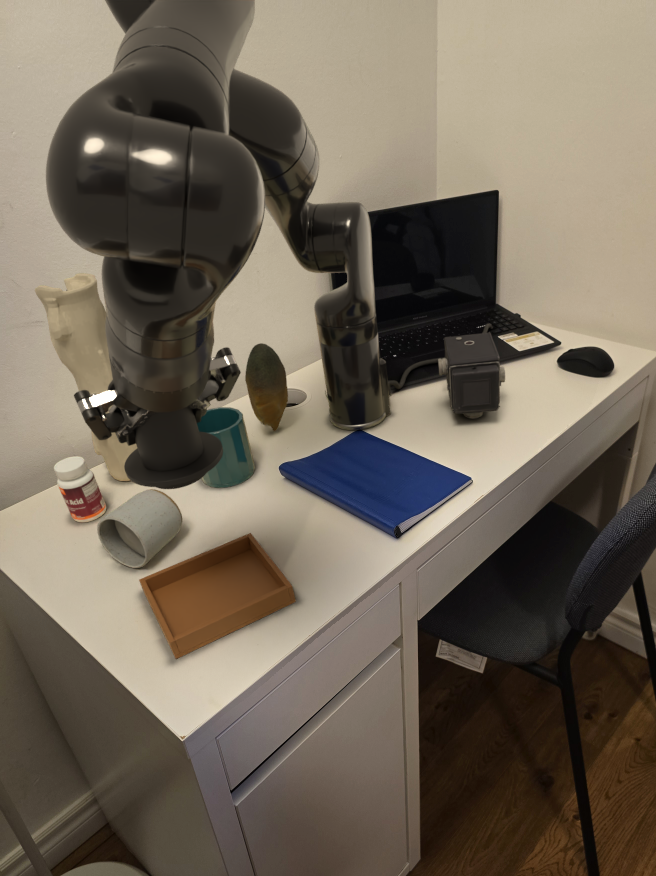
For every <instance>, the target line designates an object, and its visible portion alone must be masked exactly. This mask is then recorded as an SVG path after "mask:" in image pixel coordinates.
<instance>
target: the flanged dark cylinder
mask: <svg viewBox="0 0 656 876" xmlns="http://www.w3.org/2000/svg"><path fill="white" fill-rule="evenodd" d="M134 432H135V442H136V445H137V449H136V450H134V451H133V452H132V453H131V454H130V455H129V456H128V458H127V459H126V462H125V465H124V469H125V472H126V475H127V477H128V478H129V480H130V481H131V482H132V483H133V484H136V485H137V486H142V487H148V488H156V489H160V490H176V489H180V488H184V487H188V486H190V485H193V484H194V483H197V482H198V481H200V480H202V477H203V476H204V475H205V474H206V473H207V472H208V471H210V470H211V469H212V468H213V467H215V466H216V465H217V464H218V462H219V461H220V460H221V458H222V455H223V447H222V444H221V441H220V440H219V439H218V438H217V437H215V436H214V435H212V434H209V433H205V432H199V430H198V426H197V423H196V419H195V416H194V412H193V409H191V408H189V407H185V408H183V409H180V410H177V411H172V412H158V413H157V414H153V415H152V416H151V418H150V419H149V420H148V421H147V422H146V423H145V424H144V426H138V427H135V429H134Z"/></svg>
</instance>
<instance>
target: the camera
mask: <svg viewBox="0 0 656 876" xmlns="http://www.w3.org/2000/svg"><path fill="white" fill-rule="evenodd" d="M443 342H444V343H443V344H444V357H445V358H443V357H442V358H443V359H438V363H437V365H438V366H437V367H438V375H439V376H445V380H446V386H447V387H446V388H447V391H448V398H449V403H450V409H452V412H453V414H455V415H456V414H457V415H462V414H463V416H464V417H465V418H468V419H478V418H480V417H482V416H483V415H484V413H487V412H495V411H498V410H499V408H501V406H500V401H501V396H500V395H501V387H502V383H505V382H506V369H505V366H501V364H500V360H501V359H500V356H501V355H500V354H499V351H498V349H497V346H496V343H495V341H494V339H493V335H492V333H491V332H490V331H489V332H487V333H483V332H482V333H473V334H464V335H455V336H454V335H453V336H445V337H443Z"/></svg>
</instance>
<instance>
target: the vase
mask: <svg viewBox="0 0 656 876" xmlns="http://www.w3.org/2000/svg"><path fill="white" fill-rule="evenodd" d="M63 282H64V285H65V289H66V290H63V289H61V288H60V287H53V286H49V285H44V284H40V285H37V286H36V287H35V288H34V292H35V294H36V297H37V298H38V299H39V301H40V302H41V303H42V305H43V308H44V310H45V313H46V318H47V322H48V323H47V324H48V331H49V337H50V341H51V344H52V346H53V349H54V350H55V353H56V354H57V356H58V358H59V360H60V362H61V363H62V364H63V365H64V366H65V367H66V369H68V371H69V372H70V373H71V374H72V376H73V378H74V381H75V384H76V387H77V390H78V391H82V390H88V391H89V393H90V394H91V395H92V394H94V393H96V394H97V395H98V394H101V393H103V392H106V391H108V386H109V384H110V383H111V381H112V380H113V378H112V371H111V365H110V359H109V352H108V346H107V339H106V331H105V320H106V307H105V306H104V304H103V302H102V300H101V298H100V295H99V290H98V289H99V288H98V280H97V279H96V275H95V274H91V273H87V272H79V273H75V275H74V276H71V277H67V278H64V279H63ZM112 406H113V405H112ZM112 406H110V407H109V410H110V408H111V407H112ZM109 410H108V412H106V413H109ZM90 430H91V429H90ZM90 434H91V441H92V445H93V449H94V452H95V454H96V455H98V456H101V457H102V458H103V460H104V463H105V465H106V468H107V470H108V473H109V475H111V477H112V478H113V479H115V480H116V481H119V482H129V481H131V480H129V478H128V477H127V475H126V472H125V469H124V465H125V462H126V459H127V458H128V456H129V455H130V454H131V453H132V452H133V451H134V450H136V449H137V445H136V444H133V445H130V446H128V444H127V442H125V443H120V442H119V440H118V438H117V436H116V434H115V432H114V433H111V434H112V436H111V437H110V438H108V439H106V440H98V438H97V437H96V436H95V434H94V433H93V432H92V430H91V431H90Z"/></svg>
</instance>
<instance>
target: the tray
mask: <svg viewBox="0 0 656 876" xmlns="http://www.w3.org/2000/svg"><path fill="white" fill-rule="evenodd" d="M138 582H139V584H140V586H141V589H142V591H143V593H144V597H145V599H146V600H147V602H148V604H149V607H150V608H151V611H152V613H153V614H154V617H155V619H156V621H157V623H158V625H159V628H160V630H161V631H162V633H163V635H164V638H165V640H166V642H167V645H168V646H169V648H170V650H171V652H172V654H173V656H174V659H175V660H177V659H179V658H181V657H183V656H185V655H188V654H190V653H191V652H194V651H196V650H198V649H200V648H203V647H205V646H206V645H209V644H211V643H213V642H214V641H215V642H216V641H217V640H219V639H222V638H223V637H225V636H228V635H230V634H233V633H234V632H236V631H238V630H240V629H242V628H245V627H247V626H248V625H250V624H253V623H255V622H257V621H259V620H261V619H264V618H265V617H268V616H269V615H271V614H273V613H275V612H277V611H280V610H283V609H284V608H286V607H288V606H290V605H292V604H294V603H296V602H297V600H296V595H295V591H294V588H293V585H292V583H291V582H290V581H289V580H288V578H287V577H286V576H285V575H284V573H283V572H282V571H281V569H280V568H279V567H278V566H277V564H276V563H275V562H274V561H273V559H272V558H271V557H270V556H269V554H268V553H267V552H266V551H265V549H264V547H262V545H261V544H260V542H259V541H258V540H257V539H256V537H254V535H253V534H252V532H248V533H247V534H244V535H242V536H239V537H237V538H234V539H233V540H230V541H227V542H225V543H222V544H220V545H218V546H216V547H213V548H211V549H208V550H206V551H203V552H201V553H199V554H195V555H194V556H191V557H190V558H187V559H184V560H182V561H180V562H177V563H175V564H172V565H170V566H168V567H166V568H163V569H161V570H159V571H156V572H153V573H151V574H149V575H147V576H144V577H141V578H139V579H138Z"/></svg>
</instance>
